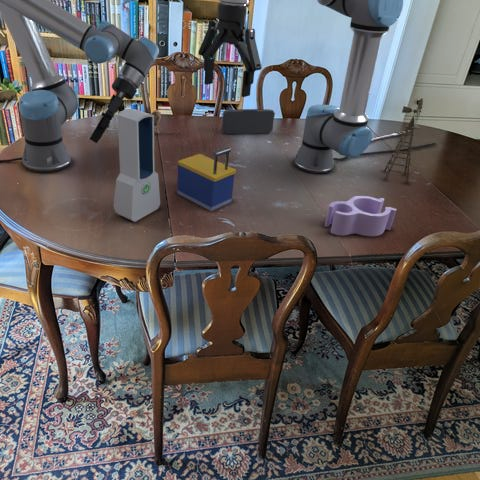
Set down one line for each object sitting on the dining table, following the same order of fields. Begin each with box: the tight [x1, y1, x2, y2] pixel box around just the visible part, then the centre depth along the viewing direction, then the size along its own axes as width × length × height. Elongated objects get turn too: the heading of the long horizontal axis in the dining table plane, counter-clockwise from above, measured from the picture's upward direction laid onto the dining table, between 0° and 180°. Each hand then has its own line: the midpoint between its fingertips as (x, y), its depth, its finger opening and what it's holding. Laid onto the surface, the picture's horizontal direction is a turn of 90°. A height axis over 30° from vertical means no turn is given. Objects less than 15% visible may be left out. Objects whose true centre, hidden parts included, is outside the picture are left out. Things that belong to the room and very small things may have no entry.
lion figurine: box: [150, 110, 162, 127], centre depth 189 cm, size 15×5×9 cm, turn 110°
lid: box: [177, 146, 237, 182], centre depth 142 cm, size 16×10×8 cm, turn 50°
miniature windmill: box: [383, 97, 424, 184], centre depth 169 cm, size 9×8×30 cm
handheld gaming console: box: [221, 108, 276, 135], centre depth 201 cm, size 23×3×10 cm, turn 108°
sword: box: [370, 131, 410, 143], centre depth 215 cm, size 31×3×1 cm, turn 126°
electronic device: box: [112, 107, 161, 223], centre depth 130 cm, size 12×8×30 cm, turn 148°
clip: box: [324, 195, 398, 237], centre depth 141 cm, size 20×12×7 cm, turn 109°
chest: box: [176, 164, 235, 212], centre depth 147 cm, size 15×10×10 cm, turn 50°
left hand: (94, 139), depth 150 cm, fingers open, 13 cm apart
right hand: (226, 89), depth 127 cm, fingers open, 13 cm apart
